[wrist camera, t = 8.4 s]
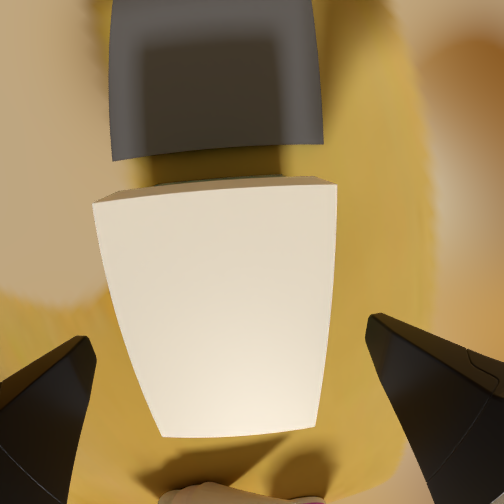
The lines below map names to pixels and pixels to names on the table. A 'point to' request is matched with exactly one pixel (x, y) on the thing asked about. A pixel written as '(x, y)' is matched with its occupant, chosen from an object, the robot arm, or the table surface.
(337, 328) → the table surface
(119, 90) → the mat
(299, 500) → the supplement bottle
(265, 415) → the lid
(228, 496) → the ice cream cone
